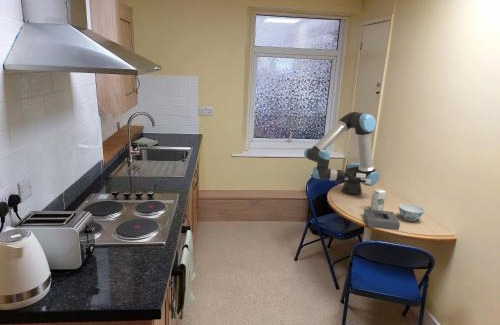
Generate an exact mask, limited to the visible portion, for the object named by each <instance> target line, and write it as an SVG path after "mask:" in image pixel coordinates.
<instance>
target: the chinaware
mask: <svg viewBox="0 0 500 325" xmlns="http://www.w3.org/2000/svg"><path fill="white" fill-rule="evenodd" d="M398 210H399V213H400V215H401V216H403V219H405V221H410V222H414V221H416V220H417V219H419V218H420V217H422V216H423V214H424V213H425V209H424V207H422V206H420V205H417V204H414V203H408V202H407V203H405V202H404V203H400V204H398Z"/></svg>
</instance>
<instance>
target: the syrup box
mask: <svg viewBox="0 0 500 325" xmlns="http://www.w3.org/2000/svg"><path fill="white" fill-rule="evenodd" d="M372 191H373V192H372V197H371V203H370V210H380V211H384V205H385V199H386V193H387V191H385V190H383V189H380V188H378V189H376V188H375V189H373V190H372Z"/></svg>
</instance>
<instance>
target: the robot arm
mask: <svg viewBox="0 0 500 325" xmlns="http://www.w3.org/2000/svg"><path fill="white" fill-rule="evenodd" d="M376 125H377V121H376V118H375V117H374V116H373V115H372V114H369V113H364V112H358V111H352V112H348V113H346V114H345V115H343V117H340V119H339V120H337V122H336V125H334V126H333V127H332V128H331V129H330V130H329V131H328V132H327V133H326V134H325V135H324V136H323V137H321V139H320V140H318V141H317V142H316V144H315V143H314V144H315V145H313V146H312V147H311V148H310V147H308V148H306V149H305V150H304V152H303V156H304V158H306V159H308V160H310V161H313V162H314V163H317V164H316V166H315V167H313V169H312V178H314V179H317V180H324V181H325V180H326V181H336V182H342V181H343V180H344V183H343V185H342V187H341V193H344V194H347V195H350V196H360V195H361V194H362V193H363V192H362V191H363V189H362V185H364V186H366V187H373V186H375V185H376V184H377V183H378V181H379V179H380V174H379V172H378V171H376V166H375V165H374V164H373V163H374V162H373V151H372V136H371V135H372V134H373V131H374V130H375V129H376ZM351 129H354V132H355V134H354V135H356V136H357V142H358V153H359V154H358V158H359V162H350V163H348V164H346V168H345V171H343V170H341V169H334V168H329V167H330V166H329V164H330V159H331V152H330V151H328V150H327V149H328V148H329V147H330V146H331V145H332V144H333V143H334V142H335V141H336V140H337V139H338V138H340V136H342V135H343V134H344V133H345V132H348V131H349V130H351ZM361 184H362V185H361Z"/></svg>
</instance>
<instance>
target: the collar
mask: <svg viewBox="0 0 500 325" xmlns="http://www.w3.org/2000/svg"><path fill="white" fill-rule="evenodd" d="M363 217H364V220H365V222H366V225H367V226H368V227H371V228H381V229H392V230H399V229H400V225H401V223H400V221H399V219H398V217H397V216H396V215H395V213H394V212H393V211H389V210H383V211H380V210H371V208H370V209H368V208H364V210H363Z"/></svg>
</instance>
